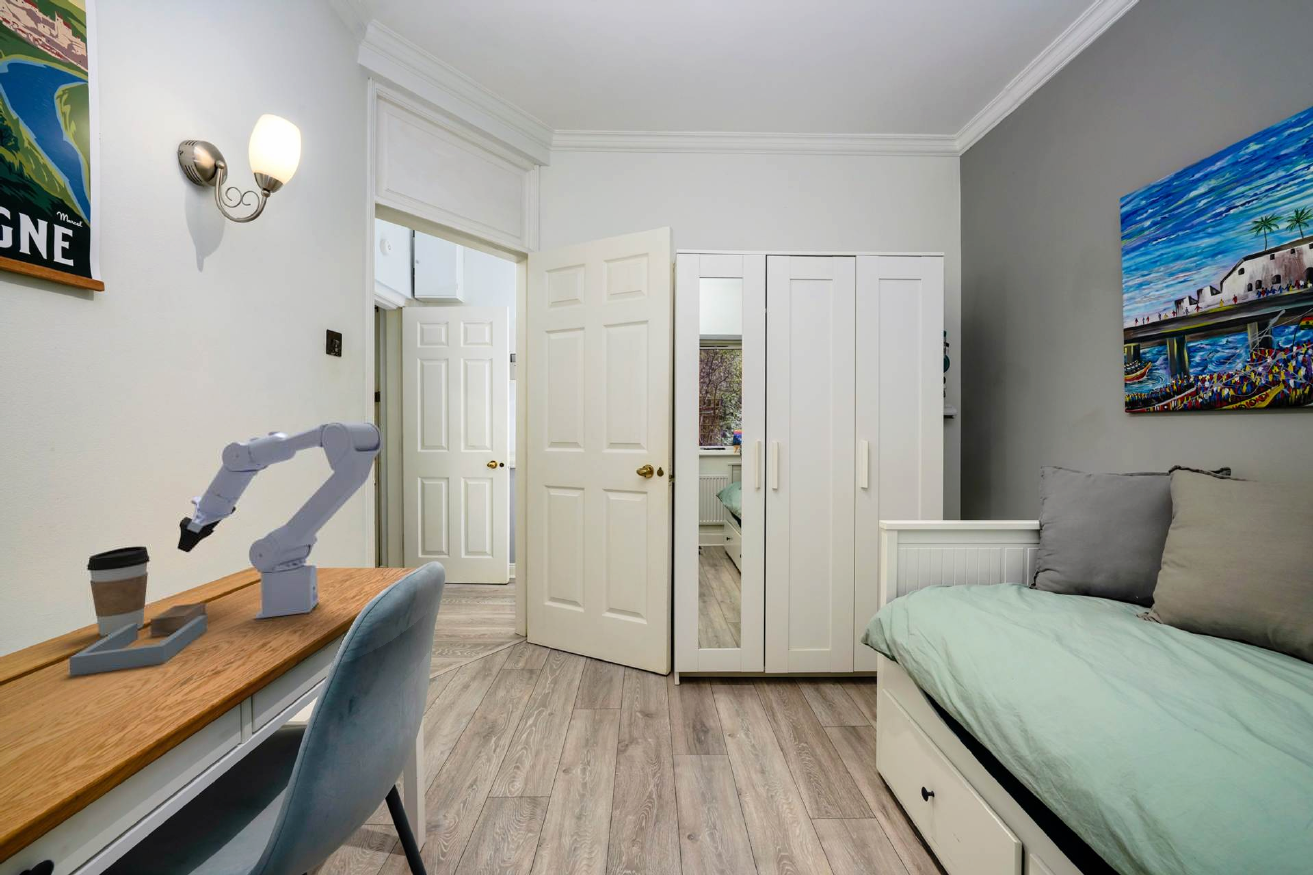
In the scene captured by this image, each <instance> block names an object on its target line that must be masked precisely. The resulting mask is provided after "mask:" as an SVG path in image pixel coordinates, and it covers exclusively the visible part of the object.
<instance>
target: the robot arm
mask: <svg viewBox="0 0 1313 875" xmlns="http://www.w3.org/2000/svg"><path fill="white" fill-rule="evenodd" d="M315 447H318V448H322V449H323V450H324V453H325V456H326V459H327V461H328V464H329V467H330V469H331V470H332V471H334V472H333V473H332V474H331V476H329V477H328V478H327V480H326V481H325V482H324V483H323V484H322V485H321V486H320V487H319V488H318V489H317V490H316V491H315V492H314V493H313V494H312V495H311V497H310V498H309V499H308V500H307V501H306V502H305V503H304V504H303V505H302V506H301V507H300V508H299V509H298V511H297V512H296V513H295V514H294V515H293V516H292V517H291V518H289V520H288V521H287V522H286V523H285V524H283V525H282V526H280V527H278V528H276V529H274V530H271V531H270V532H269V533H268V534H267V535H266V536H264V537H263V538H260V539H257V540H254V542H253V543H252V544H251V546H250V547H249V551H248V558H249V562H250V563H251V565H252V566H253V567H254V568H255V569H256V572H260V588H261V589H260V590H261V593H260V594H261V596H260V598H261V610H260V611H258V613H257V614H255V615H254V616H253V618H254V619H262V618H272V617H280V616H288V615H290V616H291V615H297V614H307V613H310V612H311V611H312V610H313V609H314V607H316V605H317V604H318V603H319V602H320V601H319V600H320V599H319V592H318V590H319V588H318V571H317V567H316V565H314V564H313V565H308V564H307V563H306V562H307V558H309V556H310V555H311V553H312V550H313V548H314V545H315V544H316V543H317V542H318V537H317V533H318V532H319V531H320V530H321V529H322V528H323V527H324V526H325V524H327V523H328V521H329V520H330V519H331V518H332V517H334V515H335V514H336V513H337V512H338V511H339V510H340V508H342V507H343V505H344V504H346V503H347V502H348V500H349V499H350V498H351V497H353V495H354V494H355V493H356V492H357V491H358V490H359V489H360V488H361V487H362V486H363V485H364V484H365V482H366V481H367V480H368V478H369V475H370V473H371V470H372V467H373V464H374V462H375V459H376V456H377V455H379V453H380V452H381V451H382V450H383V439H382V432H381V431H380V429H379V427H378V426H377V425H375V424H374V423H372V422H363V423H359V422H357V423H355V422H353V423H351V422H350V423H349V422H348V423H347V422H345V423H344V422H338V421H334V422H333V421H332V422H330V423H323V424H321V425H318V426H315V427H312V428H309V429H306V430H303V431H301V432H298V433H294V434H291V435H289V434H288V433H285V432H281V431H278V430H277V431H275V430H272V431H269V432H268V435H266V436H263V437H252V438H249V441H248V442H237V441H233V442H231V443H230V444H227V445H226V446H225V447H224V448H223V450H222V454H221V461H222V465H221V467H220V468H219V470H218V471H217V473H216V475H214V476H215V477H214V478H213V480H212V481H211V482H210V484H209V486H208V487H207V489H206V491H205V492H204V493H203V494H202V497H200V496H195V497H193V498H192V500H191V504H193V505H194V506H195V507H194V508H195V509H194V512H193V518H191V517H187V516H185V517H184V518H182V519H181V521H179V528H180V535H179V540H178V543H177V550H180V551H182V552H185V553H190V552H191V551H192V550H193V549H195V547H196V546H197V545H198V544H199V543H200V542H201V541H202V540H204V539H205V538H208V537H210V535H212V534H213V533H214V532H215V530H214V528H216V527H217V525H218V524H219V523H220V522H221V521H223V520H224V519H227V518H228V517H230V515H233V513H234V512H235V511H236V509H237V507H236V506H235V505H236V504H237V503H238V501H239V500H240V498H241V496H242V495H243V493H244V492H245V491H246V489H247V487H248V485H249V484H250V482H251V481H252V480H253V478H254V477H255V476H257V475H258V474H259V472H260V471H263V470H266V469H267V468H268V467H269V466H270V465H274V464H278V463H281V462H285V461H288V460H292V459H293V458H294V457H295V456H296V454H297V452H298V451H302V450H308V449H312V448H315ZM305 564H307V565H305Z"/></svg>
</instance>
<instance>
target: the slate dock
mask: <svg viewBox="0 0 1313 875" xmlns="http://www.w3.org/2000/svg"><path fill="white" fill-rule="evenodd" d="M138 630H139V629H138V628H137V623H134V624H128V625H126V626H125V627H123V628H121V629H119V630H118V631H116V632H114V633H112V634H110V635H109V636H104V637H103V638H102V639H100V640H98V641H96V642H94V643H93V644H91V645H89V646H88V647H86V648H84V649H82V650H81V651H78V652H77V653H75V654H74V655H72V656H70V657H69V676H70V677H73V676H74V677H75V676H79V675H80V676H81V675H88V674H94V673H101V672H102V673H104V672H109V671H117V670H125V669H131V668H139V667H145V666H146V667H147V666H152V665H153V666H154V665H160V664H165V663H166V662H168V661H169V660H170V659H171V658H173V657H174V656H175V655H176V654H179V653H180V651H182V650H183V649H184V648H186V647H187V646H189V645H190V644H191V643H193V642H194V641H195V640H196V639H198V638H199V637H201V636H202V635H203V634H204V633H206V632H207V631H208V615H207V614H206V615H203V616H198V617H197V618H195V619H194V620H192V621H191V622H189V623H188V624H187V625H185V626H184V627H182V628H181V629H179V630H178V631H176V632H175V633H173V634H172V635H168V636H167V637H166V638H164V639H163V640H162V641H161V642H159V643H158V644H157V643H156V644H151V645H150V644H149V645H142V646H133V647H127V646H128V645H130V644H131V643H134V642H135V641H136V640H138V638H139V631H138ZM125 647H126V648H125Z"/></svg>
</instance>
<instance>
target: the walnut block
mask: <svg viewBox="0 0 1313 875" xmlns="http://www.w3.org/2000/svg"><path fill="white" fill-rule="evenodd" d="M206 610H207V608H206V602H201V603H200V602H199V603H192V604H182V605H172V607H170V608H169V609H166V610H164V611H163V612H161V613H159V614H157V615H156V616H154V617H152V618H150V636H151V638H154V637H163V636H164V637H165V636H171V635H172V634H173V633H175V632H176V631H178V630H179V629H181V628H182V627H184V626H185V625H187V624H188V623H189V622H191V621H192V620H194V619H195V618H197V617H198V616H203V615H207V614H206V613H207V612H206Z"/></svg>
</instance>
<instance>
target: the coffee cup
mask: <svg viewBox="0 0 1313 875" xmlns="http://www.w3.org/2000/svg"><path fill="white" fill-rule="evenodd" d="M149 562H150V556H149V553H148V550H147V547H146V546H141V545H140V546H138V545H137V546H129V547H121V548H117V549H116V548H115V549H112V550H108V551H105V552H104V551H103V552H101V553H97V554H93V555H91V556H90V557H89V560H88V564H87V565H86V567H87V569H86V570H87V571H89V572H90V578H91V580H90V581H89V582H90V587H91V594H92V600H93V605H94V610H95V615H96V620H97V629H98V634H99V635H100V636H102V637H107V636H106V635H110V634H112V633H114V632H116V631H118V630H119V629H121V628H123V627H125V626H126V625H128V624H134V623H137V628H138V630H140V629H141V628H143V627H144V624H145V623H144V622H145V621H144V620H145V619H144V618H145V607H146V599H147V597H146V596H147V587H148V586H147V584H148V577H149V576H148V575H149V572H147V570H148V563H149Z"/></svg>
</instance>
